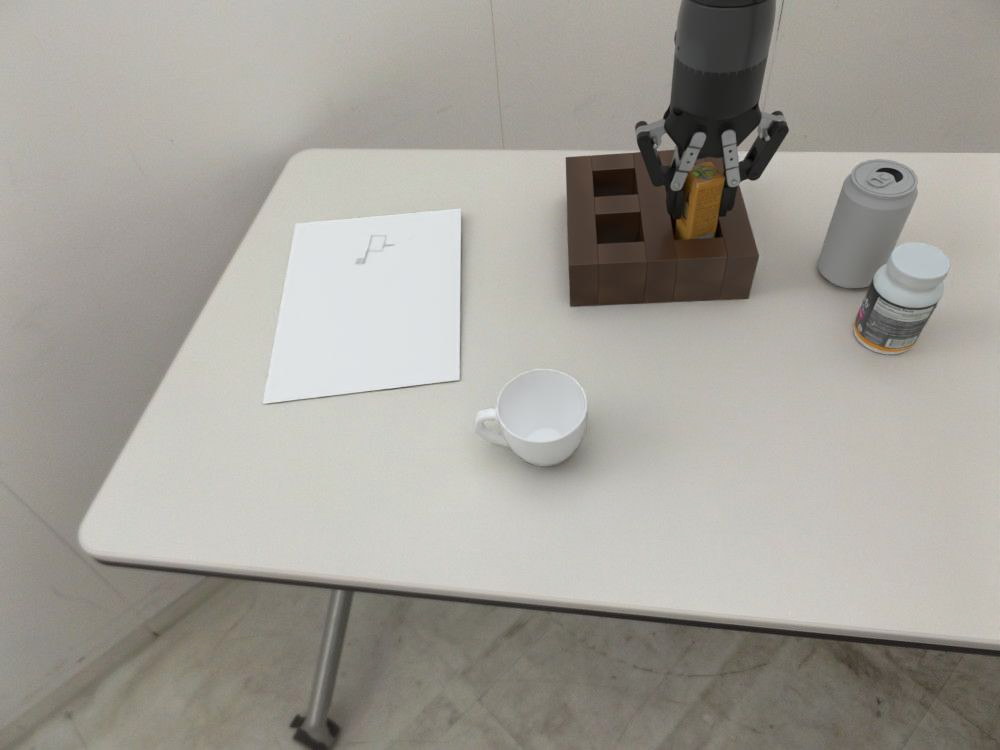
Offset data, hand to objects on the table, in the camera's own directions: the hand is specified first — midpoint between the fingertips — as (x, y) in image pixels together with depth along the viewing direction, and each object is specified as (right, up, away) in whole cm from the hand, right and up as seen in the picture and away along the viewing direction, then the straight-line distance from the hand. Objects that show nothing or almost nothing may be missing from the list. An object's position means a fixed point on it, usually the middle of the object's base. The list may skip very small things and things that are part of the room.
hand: (698, 212), depth 70 cm
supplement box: (+1, -3, +4) cm, 5 cm away
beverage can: (+17, -6, +3) cm, 18 cm away
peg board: (-3, -2, +9) cm, 9 cm away
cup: (-17, -23, -6) cm, 30 cm away
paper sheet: (-35, -8, +8) cm, 37 cm away
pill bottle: (+17, -13, -3) cm, 22 cm away
